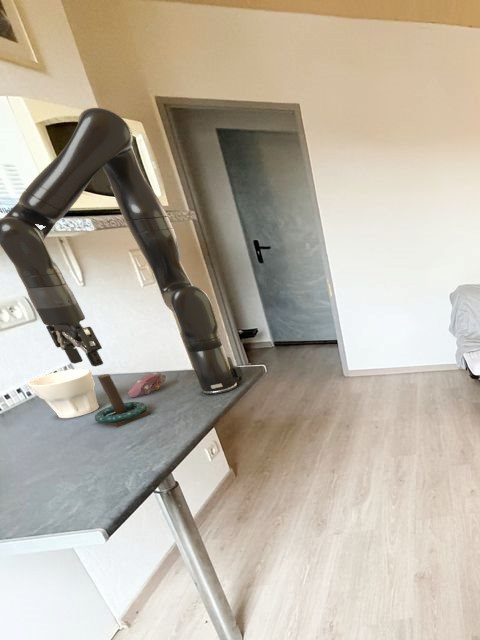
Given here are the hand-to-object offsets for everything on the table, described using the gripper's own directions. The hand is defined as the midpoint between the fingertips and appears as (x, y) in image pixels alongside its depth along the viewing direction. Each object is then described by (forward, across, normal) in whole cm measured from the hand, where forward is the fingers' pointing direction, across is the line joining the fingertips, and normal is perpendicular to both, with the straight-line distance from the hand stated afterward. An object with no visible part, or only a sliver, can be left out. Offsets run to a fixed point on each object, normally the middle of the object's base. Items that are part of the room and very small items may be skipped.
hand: (87, 363), depth 111 cm
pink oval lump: (+16, +9, -15) cm, 24 cm away
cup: (+16, +14, +1) cm, 21 cm away
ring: (+14, -4, 0) cm, 15 cm away
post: (+16, -4, 0) cm, 16 cm away
